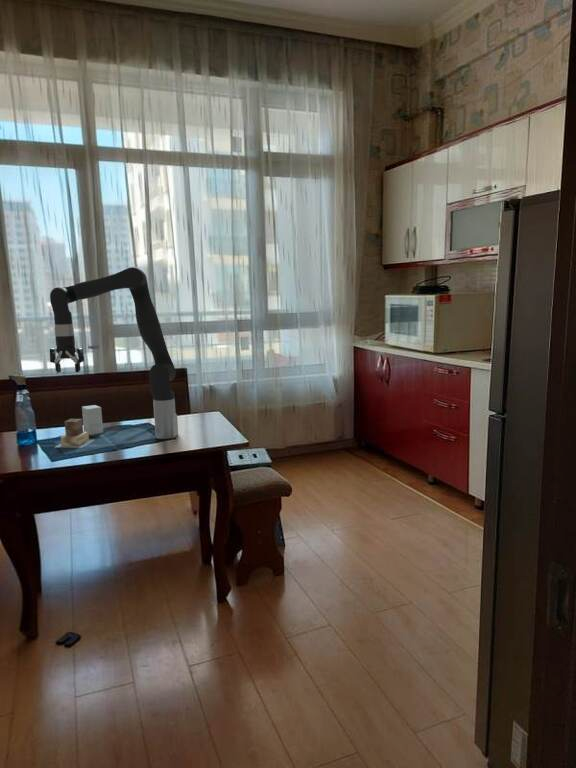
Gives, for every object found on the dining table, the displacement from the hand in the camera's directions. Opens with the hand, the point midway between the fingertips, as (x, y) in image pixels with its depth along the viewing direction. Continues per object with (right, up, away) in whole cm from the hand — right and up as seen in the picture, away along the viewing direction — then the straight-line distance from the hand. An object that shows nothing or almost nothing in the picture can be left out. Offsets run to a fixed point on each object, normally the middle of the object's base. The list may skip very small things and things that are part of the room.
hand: (68, 372), depth 223 cm
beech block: (+5, -30, -6) cm, 31 cm away
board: (+5, -31, -5) cm, 32 cm away
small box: (+6, -29, +12) cm, 32 cm away
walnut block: (+5, -26, -6) cm, 27 cm away
